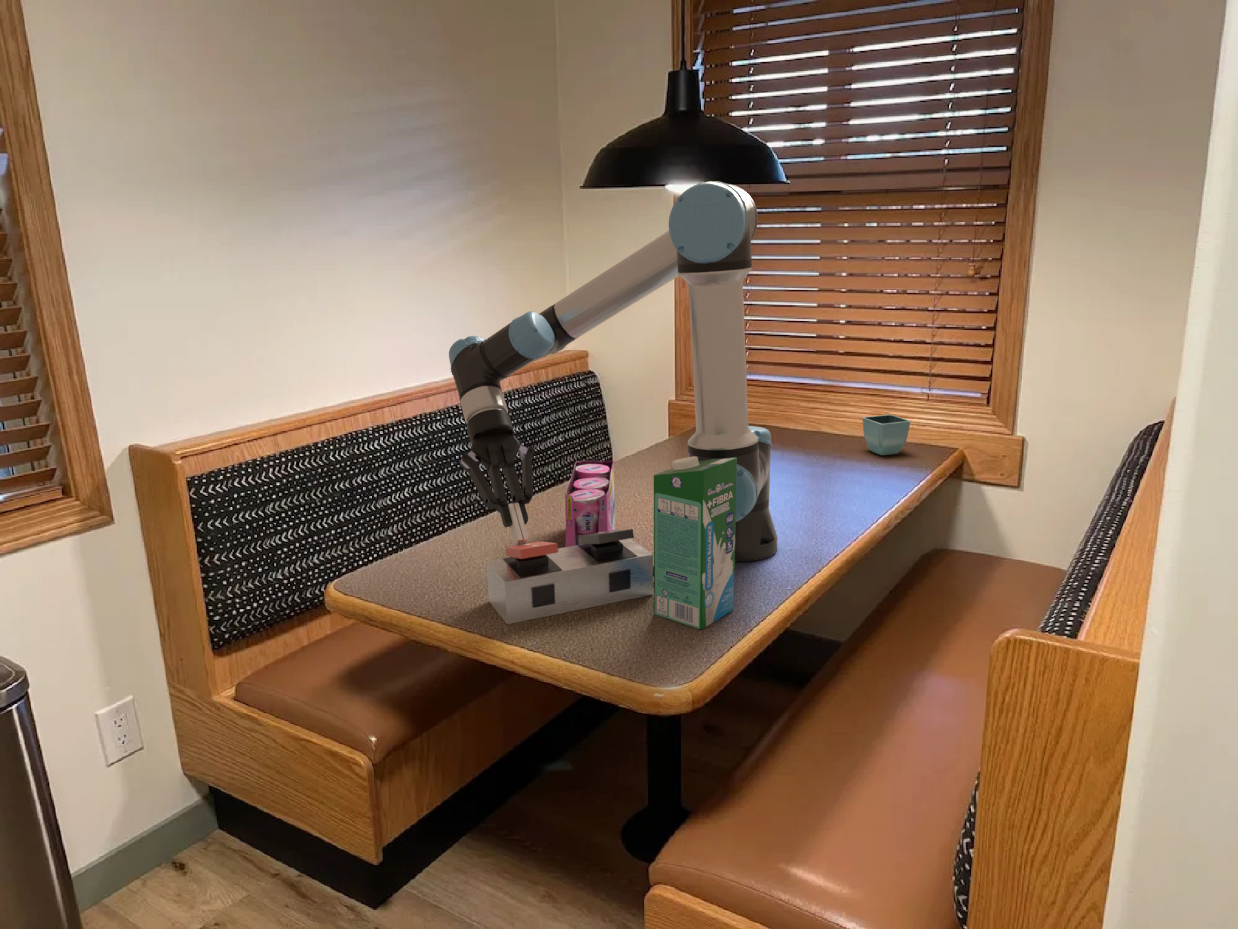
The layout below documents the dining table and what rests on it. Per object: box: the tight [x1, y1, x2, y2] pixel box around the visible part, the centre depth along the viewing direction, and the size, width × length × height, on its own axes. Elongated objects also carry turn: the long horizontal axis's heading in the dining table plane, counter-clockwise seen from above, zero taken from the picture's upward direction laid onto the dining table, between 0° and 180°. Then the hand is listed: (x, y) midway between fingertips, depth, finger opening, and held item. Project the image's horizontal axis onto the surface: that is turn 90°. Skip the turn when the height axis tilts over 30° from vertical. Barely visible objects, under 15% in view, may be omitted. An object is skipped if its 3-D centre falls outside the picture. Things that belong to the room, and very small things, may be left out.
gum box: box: [564, 460, 616, 547], centre depth 167 cm, size 24×8×14 cm, turn 177°
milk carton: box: [653, 456, 737, 631], centre depth 137 cm, size 9×9×25 cm
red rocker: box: [504, 540, 559, 559], centre depth 141 cm, size 6×8×2 cm
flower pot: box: [862, 414, 911, 456], centre depth 230 cm, size 9×9×9 cm
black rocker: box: [581, 528, 635, 544], centre depth 147 cm, size 6×8×2 cm
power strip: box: [486, 538, 654, 625], centre depth 147 cm, size 32×10×8 cm, turn 115°
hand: (521, 542), depth 145 cm, fingers closed
